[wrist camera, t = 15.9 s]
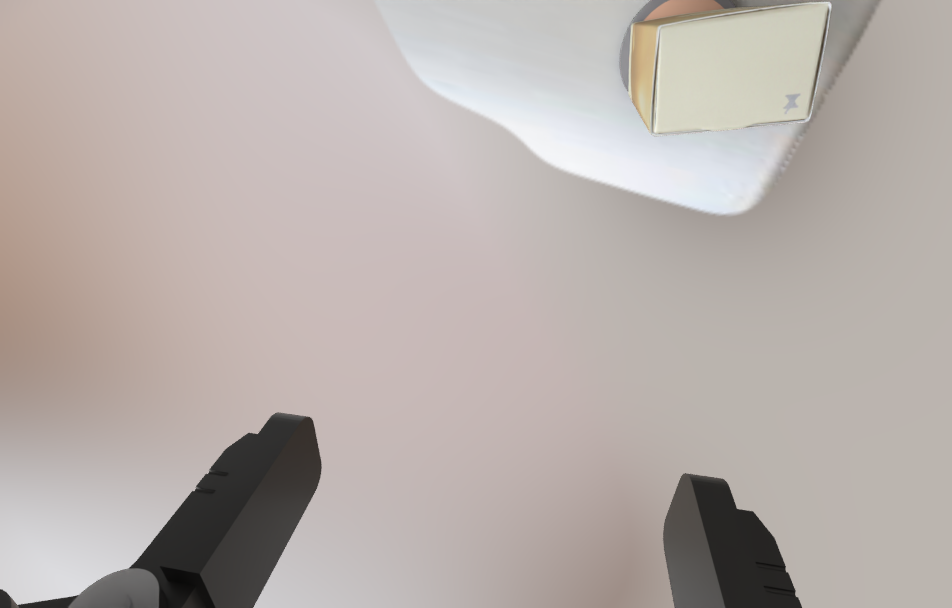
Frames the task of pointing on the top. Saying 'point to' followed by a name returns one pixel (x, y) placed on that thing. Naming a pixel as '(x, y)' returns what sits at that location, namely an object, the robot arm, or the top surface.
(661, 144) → the top surface
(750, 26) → the skincare box
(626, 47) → the tile
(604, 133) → the top surface
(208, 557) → the robot arm
